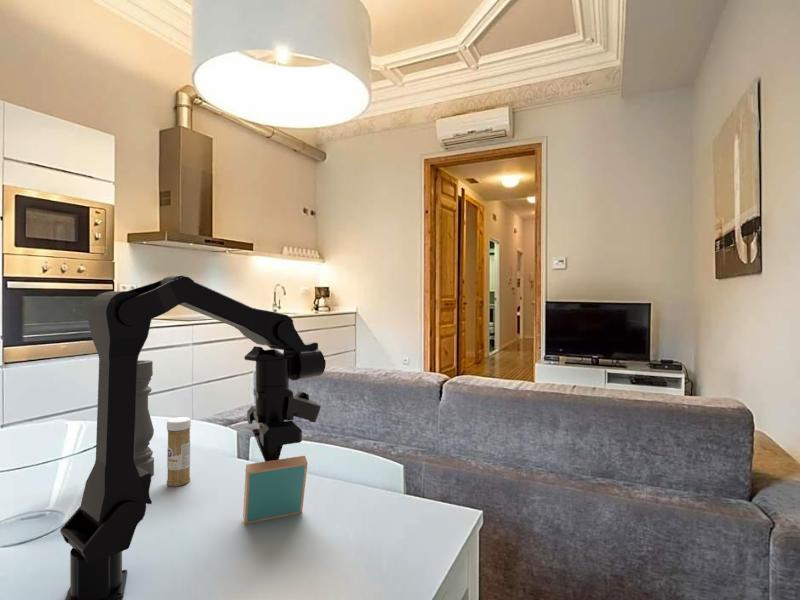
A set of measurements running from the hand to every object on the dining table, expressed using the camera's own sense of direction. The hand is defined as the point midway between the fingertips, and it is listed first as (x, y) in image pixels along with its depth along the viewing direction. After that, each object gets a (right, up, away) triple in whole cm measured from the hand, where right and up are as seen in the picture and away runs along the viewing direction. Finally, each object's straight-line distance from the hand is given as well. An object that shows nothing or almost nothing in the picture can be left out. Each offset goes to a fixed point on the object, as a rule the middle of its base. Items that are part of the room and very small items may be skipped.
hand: (272, 471), depth 83 cm
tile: (+1, -3, -2) cm, 3 cm away
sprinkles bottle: (-24, -8, +15) cm, 29 cm away
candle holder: (-34, -8, +19) cm, 40 cm away
